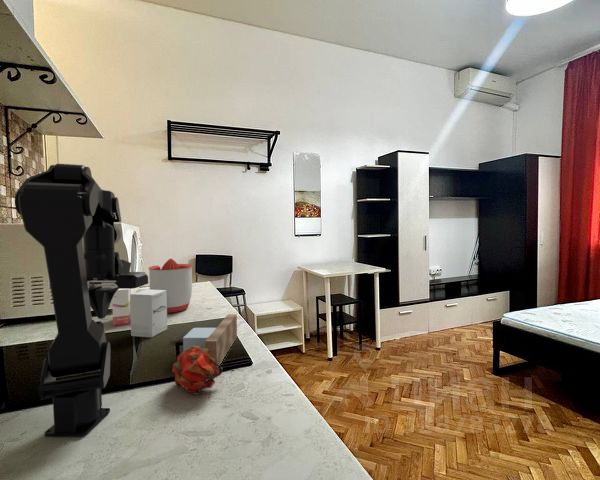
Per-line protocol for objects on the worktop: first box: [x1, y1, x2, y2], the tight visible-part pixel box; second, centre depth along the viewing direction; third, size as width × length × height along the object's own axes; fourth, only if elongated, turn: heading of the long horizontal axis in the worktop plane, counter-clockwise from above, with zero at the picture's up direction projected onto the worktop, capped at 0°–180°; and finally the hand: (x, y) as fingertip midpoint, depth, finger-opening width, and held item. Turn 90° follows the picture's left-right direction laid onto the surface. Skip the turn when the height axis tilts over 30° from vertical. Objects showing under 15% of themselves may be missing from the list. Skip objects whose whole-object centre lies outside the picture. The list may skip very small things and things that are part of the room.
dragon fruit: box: [171, 346, 224, 396], centre depth 61 cm, size 8×8×12 cm
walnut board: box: [205, 313, 238, 368], centre depth 77 cm, size 20×2×7 cm, turn 179°
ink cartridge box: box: [111, 289, 132, 326], centre depth 103 cm, size 9×5×15 cm, turn 25°
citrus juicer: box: [148, 258, 193, 314], centre depth 117 cm, size 16×17×20 cm
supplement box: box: [130, 289, 168, 338], centre depth 91 cm, size 7×7×13 cm
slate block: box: [182, 327, 217, 352], centre depth 75 cm, size 7×7×6 cm
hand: (102, 318), depth 67 cm, fingers closed
